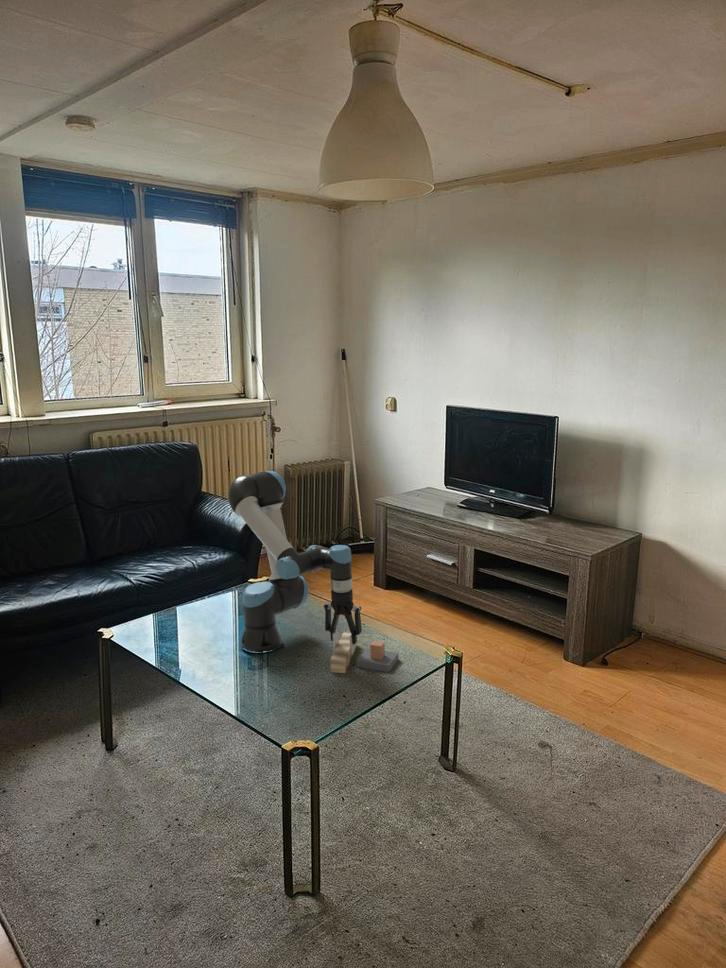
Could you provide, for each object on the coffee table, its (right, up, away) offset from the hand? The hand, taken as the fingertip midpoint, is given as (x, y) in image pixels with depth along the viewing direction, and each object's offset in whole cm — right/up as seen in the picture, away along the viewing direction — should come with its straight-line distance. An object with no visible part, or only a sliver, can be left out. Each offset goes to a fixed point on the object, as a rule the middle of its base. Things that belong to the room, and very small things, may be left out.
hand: (344, 650), depth 246 cm
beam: (0, -3, +1) cm, 3 cm away
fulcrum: (+12, -4, -4) cm, 13 cm away
